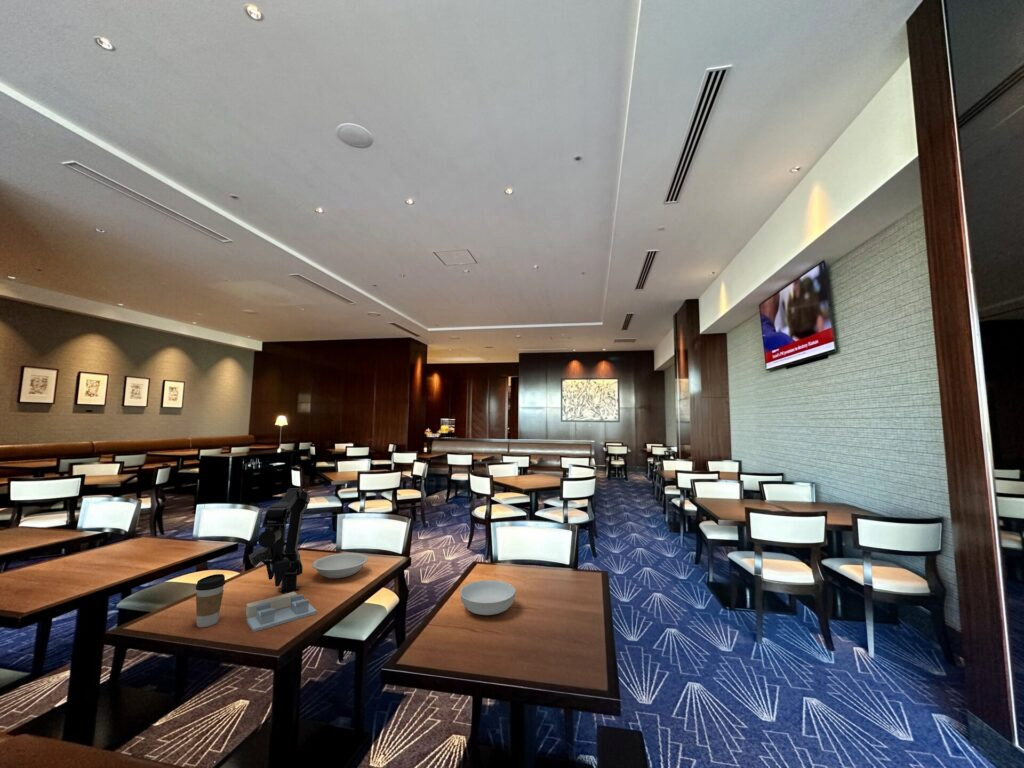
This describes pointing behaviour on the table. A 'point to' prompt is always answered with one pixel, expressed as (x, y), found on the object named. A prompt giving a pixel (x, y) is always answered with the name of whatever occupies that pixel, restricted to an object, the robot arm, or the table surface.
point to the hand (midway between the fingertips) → (273, 582)
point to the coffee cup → (209, 599)
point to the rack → (280, 614)
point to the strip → (275, 602)
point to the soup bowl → (340, 564)
